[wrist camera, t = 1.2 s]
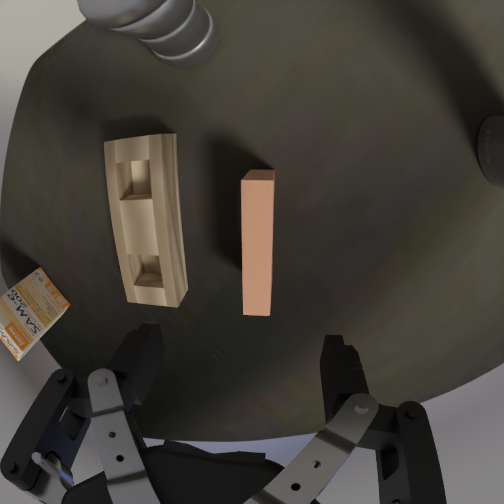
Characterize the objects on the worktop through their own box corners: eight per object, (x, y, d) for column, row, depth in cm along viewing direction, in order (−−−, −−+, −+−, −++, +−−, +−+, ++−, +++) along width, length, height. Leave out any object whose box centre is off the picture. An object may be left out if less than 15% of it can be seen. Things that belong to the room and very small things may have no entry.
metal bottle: (152, 56, 23) (11, -1, 4) (191, 10, 20) (92, -93, 2) (196, 82, 24) (62, 16, 5) (238, 34, 21) (173, -94, 3)
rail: (176, 133, 26) (161, 133, 22) (188, 288, 33) (177, 307, 29) (123, 140, 27) (103, 142, 23) (141, 285, 34) (128, 301, 30)
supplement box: (72, 303, 37) (24, 354, 25) (62, 315, 38) (18, 363, 26) (41, 264, 35) (-13, 306, 23) (33, 278, 36) (-16, 319, 24)
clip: (274, 169, 27) (273, 180, 20) (272, 278, 32) (269, 315, 25) (250, 169, 27) (241, 180, 20) (250, 277, 32) (243, 314, 25)
